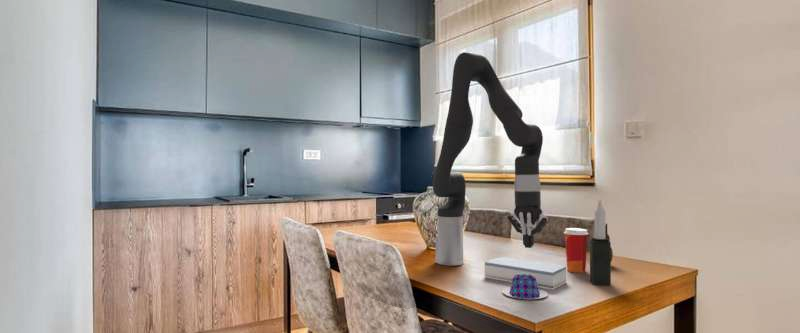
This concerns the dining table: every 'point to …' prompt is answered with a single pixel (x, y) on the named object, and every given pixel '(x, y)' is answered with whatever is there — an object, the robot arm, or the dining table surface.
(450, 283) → the dining table surface
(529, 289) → the pudding
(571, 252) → the paper cup
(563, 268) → the lid
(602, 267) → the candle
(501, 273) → the grey lidded box
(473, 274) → the dining table surface
